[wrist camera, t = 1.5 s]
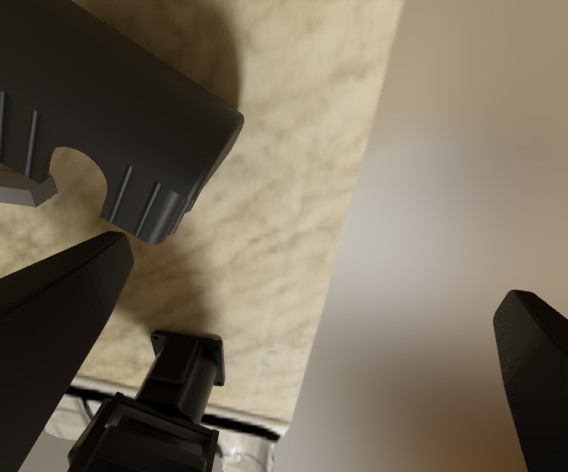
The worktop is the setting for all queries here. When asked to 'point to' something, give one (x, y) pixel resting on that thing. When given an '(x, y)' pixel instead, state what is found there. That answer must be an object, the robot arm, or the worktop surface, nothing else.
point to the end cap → (107, 114)
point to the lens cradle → (24, 189)
